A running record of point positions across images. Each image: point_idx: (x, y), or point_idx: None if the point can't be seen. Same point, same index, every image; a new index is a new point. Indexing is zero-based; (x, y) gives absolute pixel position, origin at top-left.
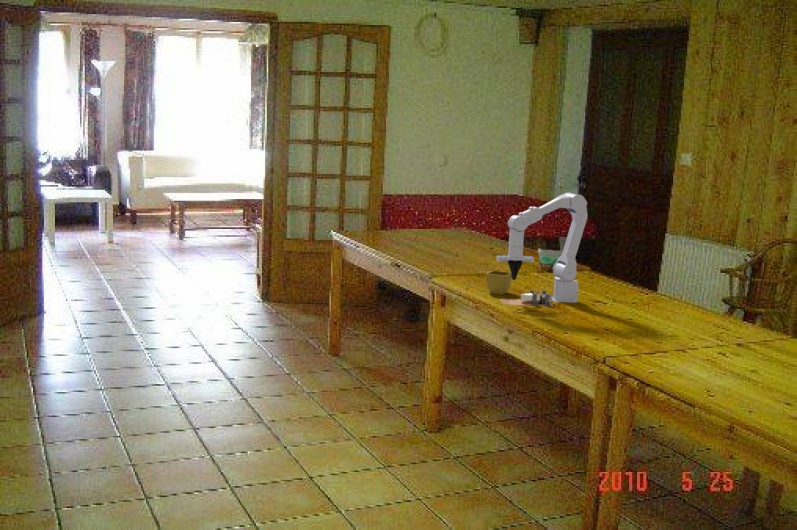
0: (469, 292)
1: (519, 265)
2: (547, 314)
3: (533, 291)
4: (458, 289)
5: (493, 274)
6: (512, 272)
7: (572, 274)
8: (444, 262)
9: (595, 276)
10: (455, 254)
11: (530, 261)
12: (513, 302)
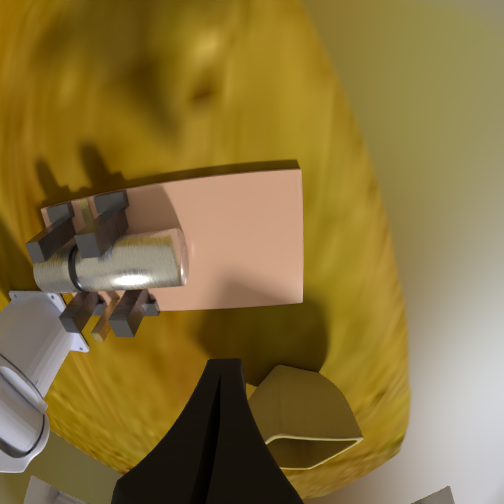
0: (390, 368)
1: (146, 486)
2: (67, 50)
3: (112, 318)
4: (407, 384)
5: (335, 438)
6: (245, 415)
7: None
8: (338, 483)
9: (93, 455)
10: (307, 498)
11: (59, 493)
12: (231, 234)
